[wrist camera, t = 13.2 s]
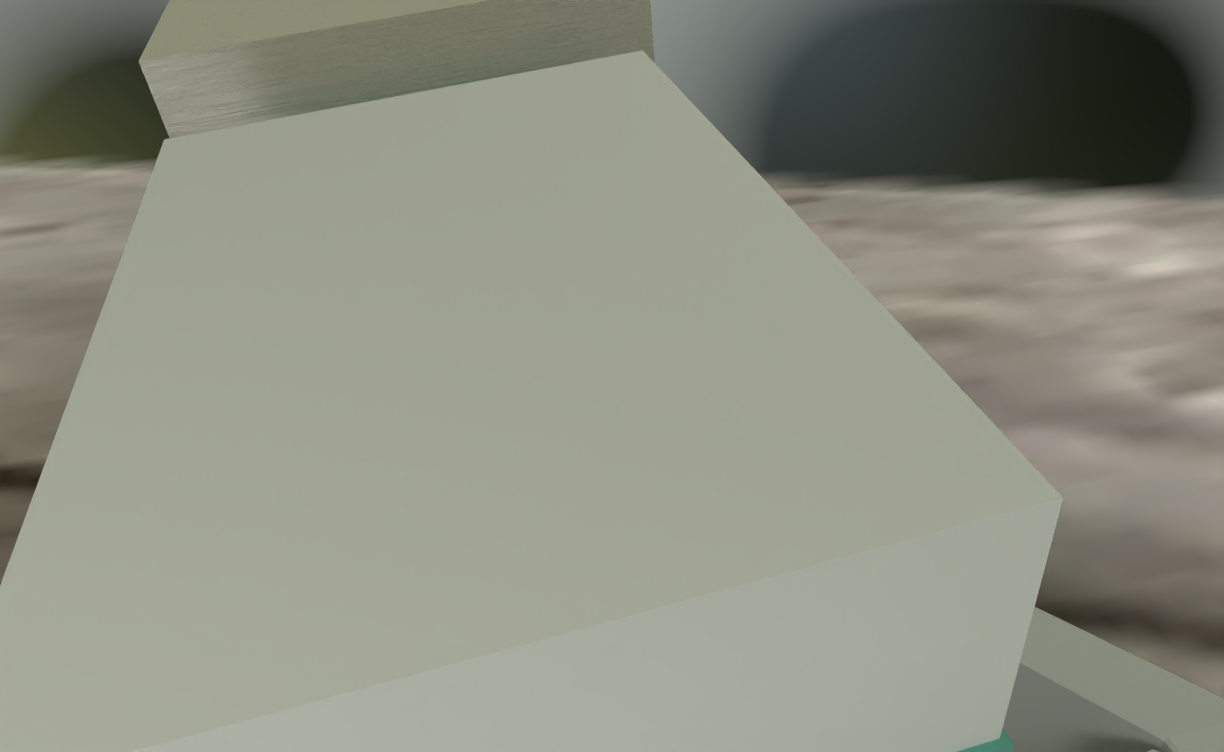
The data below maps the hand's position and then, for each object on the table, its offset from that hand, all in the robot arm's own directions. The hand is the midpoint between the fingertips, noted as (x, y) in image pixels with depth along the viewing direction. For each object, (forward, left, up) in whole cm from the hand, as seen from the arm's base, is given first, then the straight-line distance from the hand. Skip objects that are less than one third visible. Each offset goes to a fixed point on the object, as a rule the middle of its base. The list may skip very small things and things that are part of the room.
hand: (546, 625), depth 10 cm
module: (-1, -1, -9) cm, 9 cm away
